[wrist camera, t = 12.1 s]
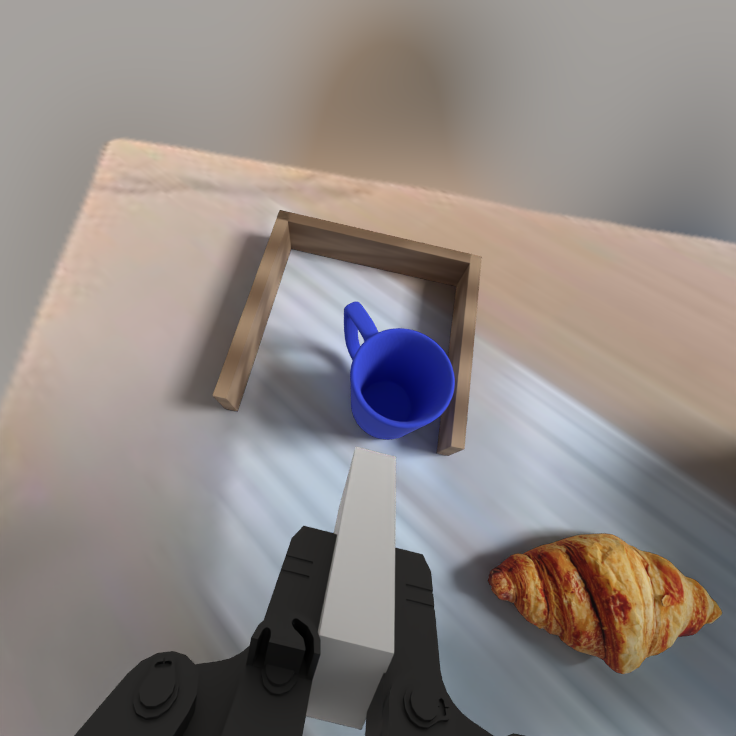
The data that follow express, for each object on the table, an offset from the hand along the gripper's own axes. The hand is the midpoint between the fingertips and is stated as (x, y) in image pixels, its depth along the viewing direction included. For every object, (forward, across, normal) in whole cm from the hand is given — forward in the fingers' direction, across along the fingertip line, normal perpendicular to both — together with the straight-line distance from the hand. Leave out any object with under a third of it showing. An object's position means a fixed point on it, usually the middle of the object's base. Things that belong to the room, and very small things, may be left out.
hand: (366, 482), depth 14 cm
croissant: (+15, +24, -17) cm, 33 cm away
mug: (+24, +1, -7) cm, 25 cm away
